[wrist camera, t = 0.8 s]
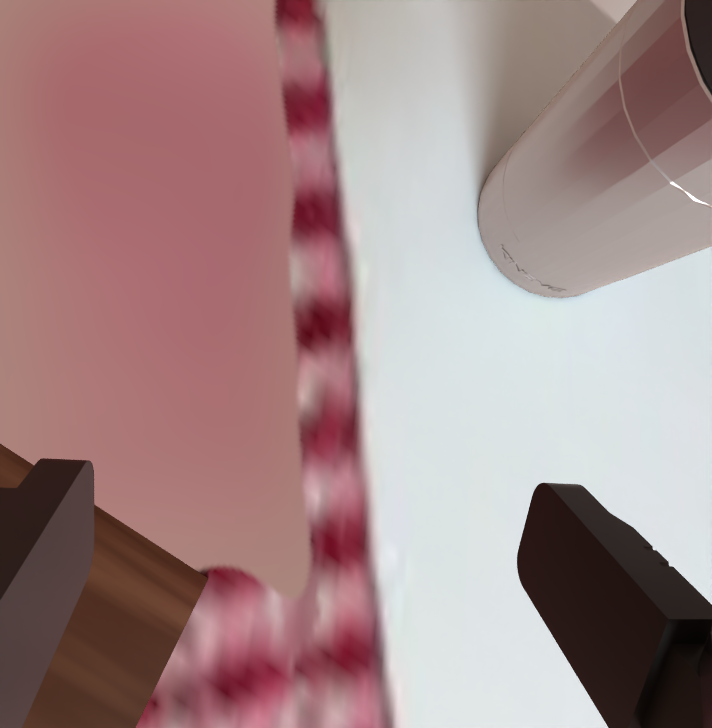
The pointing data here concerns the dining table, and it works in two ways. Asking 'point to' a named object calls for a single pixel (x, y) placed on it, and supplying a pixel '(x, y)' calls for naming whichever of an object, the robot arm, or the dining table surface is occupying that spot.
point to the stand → (112, 626)
